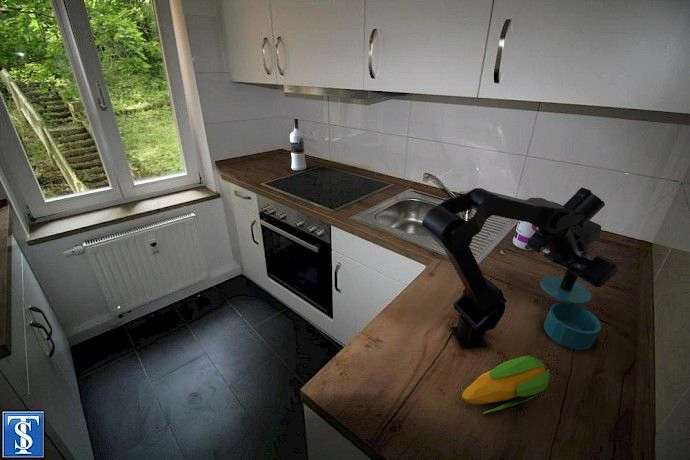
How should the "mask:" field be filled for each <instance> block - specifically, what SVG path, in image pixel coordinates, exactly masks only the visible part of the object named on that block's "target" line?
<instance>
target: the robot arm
mask: <svg viewBox="0 0 690 460" xmlns="http://www.w3.org/2000/svg"><path fill="white" fill-rule="evenodd" d="M605 206H606V203H605V201H603V200H602V199H601V198H600V197H599V196H597V195H596V194H594V193H592V190H591V189H588V188H585V187H580V188H579V189H578V190H577V191H576V192H575V193H574V194H573V196H571V197H570V198H569V199H568V200H566V202H565V203H564V204H563V205H562V204H560V203H559V202H558V203H557V202H554V201H550V200H548V199H545V198H543V197H529V198H527V199H522V198H518V197H514V196H509V195H505V194H501V193H497V192H493V191H489V190H488V189H485V188H482V187H475V188H473V189H471V190H469V191H468V192H466V193H465V194H462V195H458V196H454V197H451V198H448V199H447V198H446V199H445V200H444V201H442V202H441V203H439V204H437V205H436V206H434V207H432V208H430V209H429V210H428V211H427V212H426V214H425V216H424V217H423V220H422V221H421V226H422V228H423V230H424V231H425V232H426V233H427V235H428V236H429V237H430V238H431V239H433V241H434V242H436V243H437V244H438V245H439V246H440V248H442V249H443V250H444V252H445V254H446V256H447V257H448V259H449V261H450V263H451V265H452V267H453V268H454V270H455V272H456V274H457V275H458V277H459V279H460V281H461V283H462V285H463V286H464V288H463V290H462V294H461V296H459V297H458V299H456V300H455V301H454V302H453V309H454V310H455V311H456V312H457V313H458V314H459V317H458V321H457V325H456V326H451V327H450V331H451V332H452V334H453V336H454V338H455V340H456V342H457V344H458V345H459V347H460V348H461V350H462V349H463V350H464V349H477V348H487V347H488V342H487V341H486V339H485V334H486V332H487V331H491V330H494V329H495V328H496V327H497V325H498V324H499V322H500V321H501V318H502V317H503V316H504V314H505V310H506V302H508V300H507V299H506V298H505V297H504V293H503V291H502V289H500V288H499V287H498V286H497V285H495V284H494V283H493V282H492V281H491V280H489V279H488V278H487V277H485V276H484V274H483V272H482V270H481V267H480V266H479V263H478V261H477V259H476V258H475V255H474V253H473V250H472V249H471V246H470V245H471V243H472V242H473V238H474V237H475V236H476V235H478V234H480V233H481V231H482V229H483V227H484V225H485V223H486V221H487V220H488V219H489V218H491V217H493V216H494V217H499V218H505V219H508V220H509V219H510V220H515V221H524V222H529V223H531V224H533V225H535V226H537V227H538V230H537V231H535V233H534V234H533V235H532V236H531V237H530V238H529V239H528V241H527V245H528V246H529V248H531V249H532V250H531V251H534V252H536V253H537V254H540V253H541V251H542V252H543V253H544V254H543V257H544V258H545V259H547V260H549V261H550V262H552V263H555V264H556V265H559V266H561V267H564V268H566V269H567V268H568V266H569V264H571V265H573V266H572V267H571V268H570V269H569V270H568V271H569V272H571V273H572V274H574V275H576V276H577V278H581V279H582V280H583V281H585V282H586V283H588V284H590V285H591V286H593V287H595V288H601V287H602V286H603V285H605V284H606V283H607V282H608V281H609V280H610V279H611V278H612V277H613V276H614V275H616V274H617V273H618V271H619V270H620V269H619V266H618V264H617V262H615V261H613V260H611V259H609V258H607V257H606V256H603V255H601V254H600V255H596V256H595V255H594V254H591V253H590V252H588V251H589V249H590V247H589V245H591V244H592V243H594V242H595V241H597V240H599V239H601V235H602V226H601V224H598V223H596V222H594V221H591V220H592V219H593V218H594V217H595V216H596V215H597V214H598V213H599V212H600V211H601V210H602V209H603V208H604V207H605ZM470 210H475V213H474V215H473V216H472V217H471V218H468V219H467V220H465V219H464V218H463V217H461V216H460V215H458V214H461V213H464V212H468V211H470ZM541 248H543V249H542V250H541Z"/></svg>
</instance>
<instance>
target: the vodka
mask: <svg viewBox="0 0 690 460" xmlns="http://www.w3.org/2000/svg"><path fill="white" fill-rule="evenodd" d="M289 142H290V151H291V152H290V155H291V165H290V166H291V170H293V171H296V172H300V171H301V172H302V171H304V170H306V169H307V163H306V152H305V134H304V133H303V132H302V131H301V130H300V129H299V119H298V118H293V131H292V132H291V133H290V134H289Z"/></svg>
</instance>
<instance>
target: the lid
mask: <svg viewBox="0 0 690 460" xmlns="http://www.w3.org/2000/svg"><path fill="white" fill-rule="evenodd" d="M572 266H573V265H571V264H569V266H568V268H567V267H566V269H565V270H566V271H565V272H564V276H561V275H546V276H544V277H542V278H541V280H540V287H541V289H542V290H543V291H544V292H545V293H546V294H548V295H549V296H550V297H552V298H554V299H556V300H558V301H560V302H562V303H569V304H574V305H576V306H578V305H579V306H580V305H582V306H583V305H587V304H588V303H590V302H591V300H592V298H593V295H592V293H591V291H590V290H589V289H588V288H587V287H586V286H585V285H583V284H582V283H580V282H578V281H577V279H578V277H577V276H576V275H574V274H572V273H571V272H569V271H568V270H569V269H570V268H571V267H572Z"/></svg>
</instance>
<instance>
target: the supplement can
mask: <svg viewBox="0 0 690 460" xmlns="http://www.w3.org/2000/svg"><path fill="white" fill-rule="evenodd" d="M517 221H518V222H517V225H516V228H515V231H514V235H513V239H512V243H513V245H514V246H515V247H517V248H519V249H522V250H526V251H533V250H532V249H531V248H529V246H528V245H527V241H528V239H529V238H530V237H531V236H532V235H533V234H534V233H535V231H537V230H538V227H537V226H535V225H533V224H531V223H529V222H524V221H519V220H517Z"/></svg>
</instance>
